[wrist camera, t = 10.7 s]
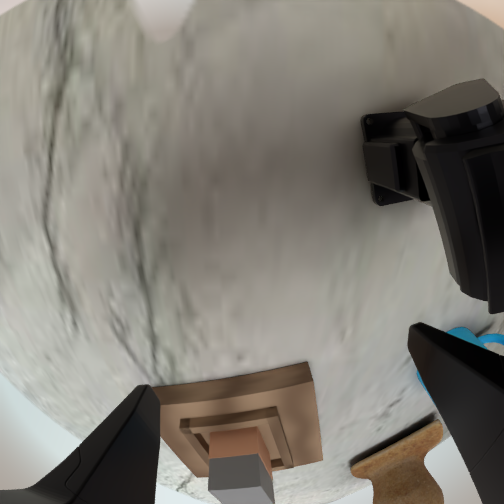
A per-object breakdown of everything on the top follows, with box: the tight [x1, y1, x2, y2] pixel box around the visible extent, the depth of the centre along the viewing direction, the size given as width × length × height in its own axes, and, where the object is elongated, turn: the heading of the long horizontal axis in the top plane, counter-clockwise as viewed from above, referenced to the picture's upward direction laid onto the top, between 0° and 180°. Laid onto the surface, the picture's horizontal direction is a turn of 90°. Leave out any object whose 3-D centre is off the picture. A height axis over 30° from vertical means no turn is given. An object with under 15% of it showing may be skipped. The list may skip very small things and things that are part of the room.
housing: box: [208, 426, 275, 504], centre depth 22 cm, size 7×4×7 cm, turn 13°
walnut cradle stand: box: [152, 362, 323, 478], centre depth 26 cm, size 16×16×4 cm
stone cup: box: [351, 419, 444, 504], centre depth 27 cm, size 15×12×15 cm
